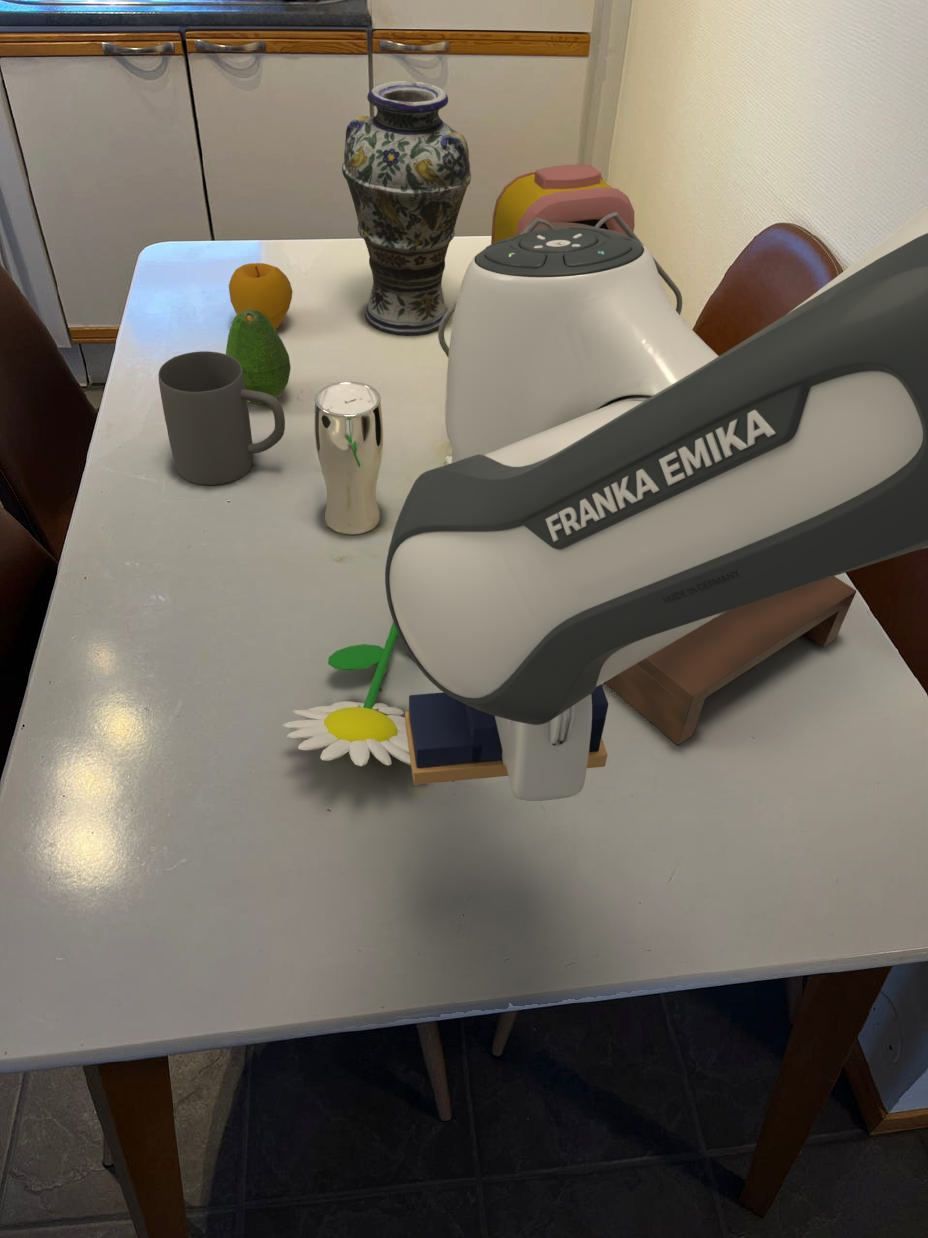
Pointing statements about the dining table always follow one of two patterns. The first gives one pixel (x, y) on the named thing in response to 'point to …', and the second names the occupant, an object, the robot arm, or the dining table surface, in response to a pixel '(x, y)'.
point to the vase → (406, 201)
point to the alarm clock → (559, 201)
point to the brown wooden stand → (728, 652)
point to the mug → (212, 417)
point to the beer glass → (349, 454)
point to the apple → (261, 291)
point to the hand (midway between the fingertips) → (506, 719)
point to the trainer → (471, 739)
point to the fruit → (259, 353)
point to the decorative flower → (356, 715)
